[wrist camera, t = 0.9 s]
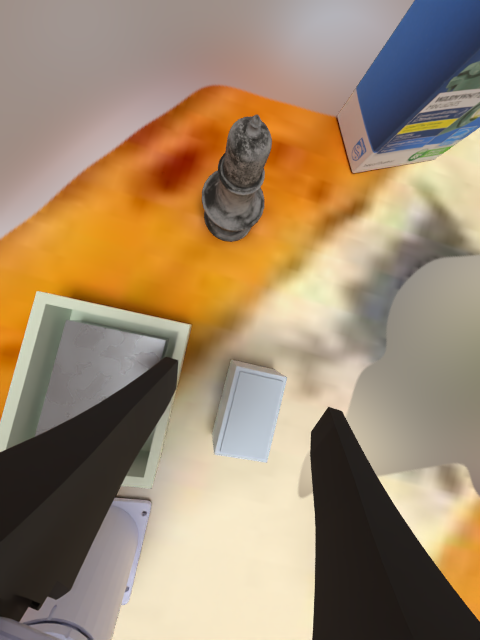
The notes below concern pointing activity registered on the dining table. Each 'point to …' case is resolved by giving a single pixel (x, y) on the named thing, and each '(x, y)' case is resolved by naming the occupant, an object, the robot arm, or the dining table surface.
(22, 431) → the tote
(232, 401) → the pale grey box
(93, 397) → the tin block
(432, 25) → the string lights box
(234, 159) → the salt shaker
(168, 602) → the dining table surface
